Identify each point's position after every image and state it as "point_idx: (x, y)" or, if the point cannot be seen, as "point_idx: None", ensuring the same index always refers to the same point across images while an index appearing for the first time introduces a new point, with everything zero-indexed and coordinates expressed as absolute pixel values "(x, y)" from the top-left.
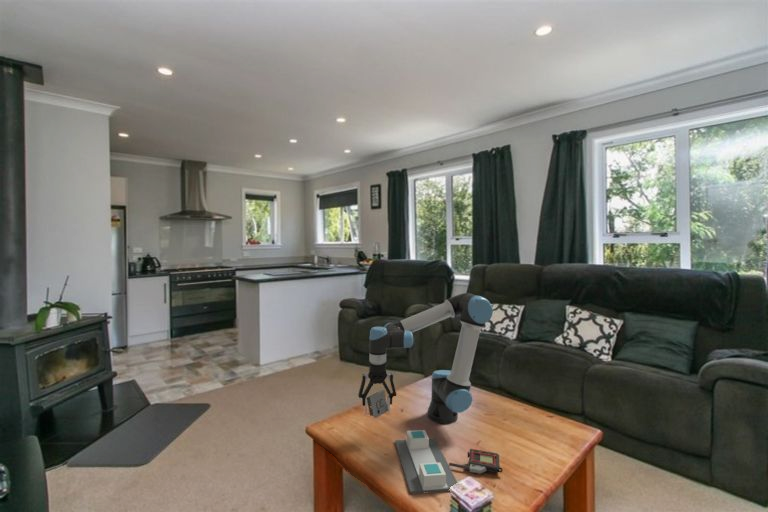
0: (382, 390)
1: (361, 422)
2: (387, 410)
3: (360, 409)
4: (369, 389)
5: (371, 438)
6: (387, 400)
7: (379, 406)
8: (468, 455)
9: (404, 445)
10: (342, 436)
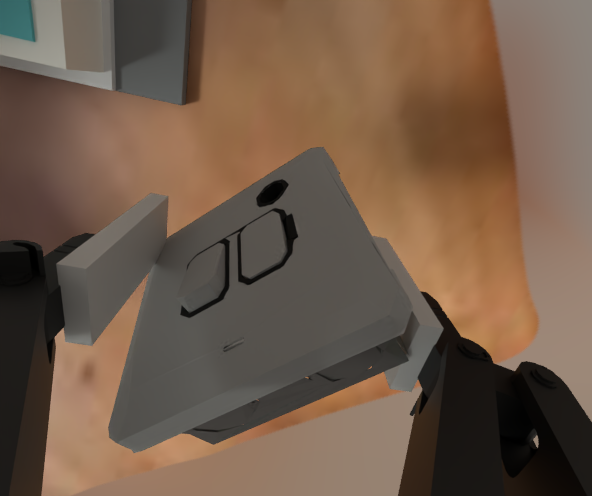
0: (135, 446)
1: None
2: (165, 233)
3: (278, 417)
4: (446, 481)
5: None
6: (121, 293)
7: (249, 233)
8: None
9: (132, 22)
10: (438, 248)
